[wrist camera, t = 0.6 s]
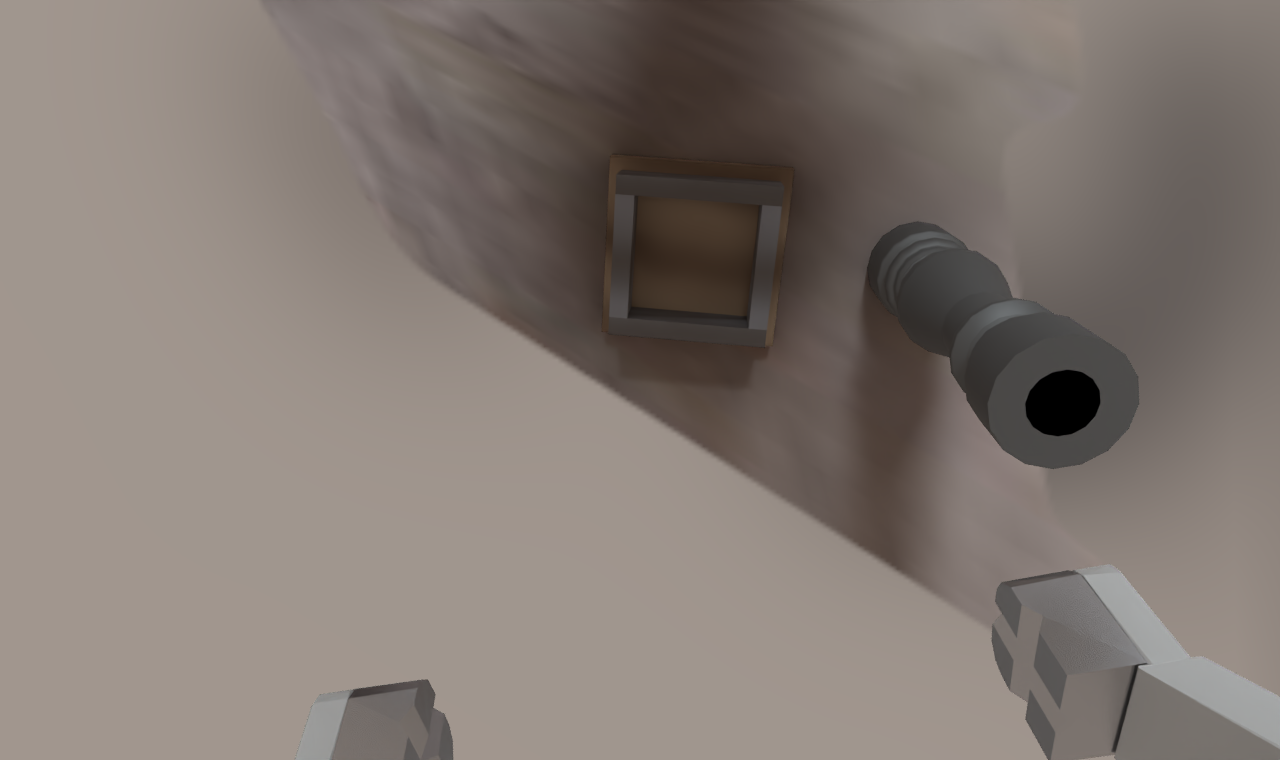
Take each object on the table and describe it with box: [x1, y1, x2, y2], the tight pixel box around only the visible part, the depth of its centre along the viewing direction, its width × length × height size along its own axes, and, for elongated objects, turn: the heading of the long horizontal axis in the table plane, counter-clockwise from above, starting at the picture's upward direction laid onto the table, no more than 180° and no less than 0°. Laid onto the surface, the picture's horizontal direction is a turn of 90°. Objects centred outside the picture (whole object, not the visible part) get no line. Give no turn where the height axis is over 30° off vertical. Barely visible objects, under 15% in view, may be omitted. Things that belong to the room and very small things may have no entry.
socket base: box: [602, 154, 795, 348], centre depth 54 cm, size 12×12×4 cm
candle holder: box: [867, 222, 1139, 469], centre depth 43 cm, size 6×6×25 cm
